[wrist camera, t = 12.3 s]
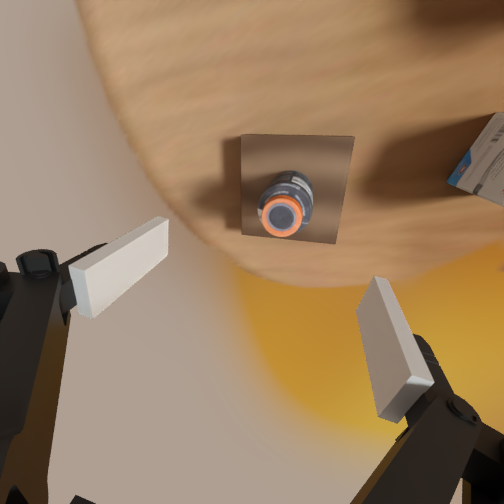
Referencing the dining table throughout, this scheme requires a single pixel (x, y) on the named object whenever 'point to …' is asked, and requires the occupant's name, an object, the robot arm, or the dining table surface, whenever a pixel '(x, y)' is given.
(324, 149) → the walnut block
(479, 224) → the dining table surface
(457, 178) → the ink box
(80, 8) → the dining table surface
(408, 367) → the robot arm
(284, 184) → the pill bottle
